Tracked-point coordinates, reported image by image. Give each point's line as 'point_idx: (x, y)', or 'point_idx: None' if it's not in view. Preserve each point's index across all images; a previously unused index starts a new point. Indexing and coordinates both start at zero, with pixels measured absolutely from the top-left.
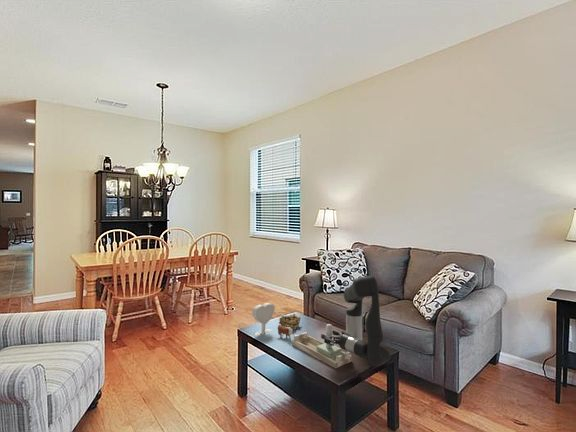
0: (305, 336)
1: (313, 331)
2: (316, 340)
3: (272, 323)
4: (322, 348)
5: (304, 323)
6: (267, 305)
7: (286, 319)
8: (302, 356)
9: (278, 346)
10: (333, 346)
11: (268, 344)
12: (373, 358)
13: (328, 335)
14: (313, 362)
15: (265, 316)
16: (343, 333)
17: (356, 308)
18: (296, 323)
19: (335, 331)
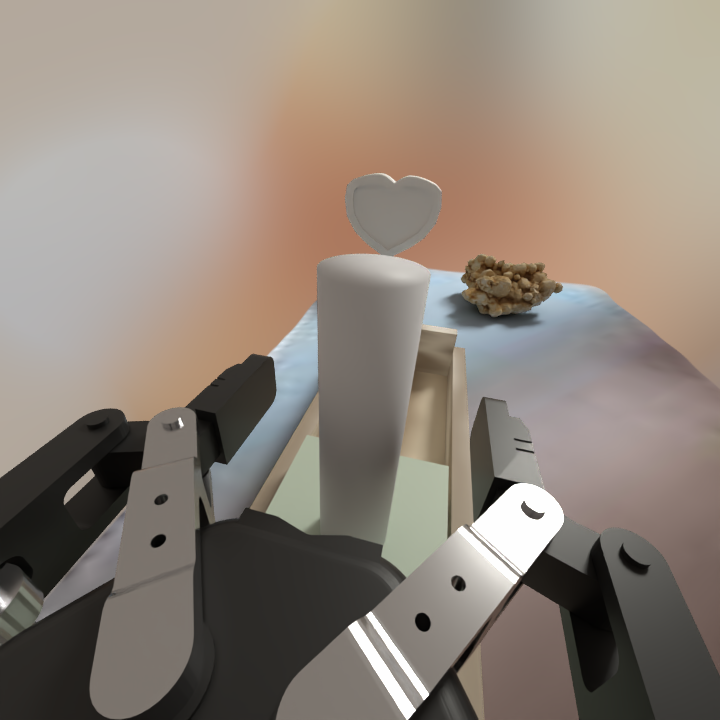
0: (437, 349)
1: (567, 359)
2: (452, 399)
3: (460, 279)
4: (285, 490)
5: (575, 319)
6: (405, 180)
7: (485, 270)
8: (276, 430)
9: (316, 334)
10: (411, 562)
11: (310, 314)
12: None
13: (319, 420)
14: (220, 519)
15: (394, 227)
16: (612, 620)
17: None
18: (516, 298)
19: (491, 435)
